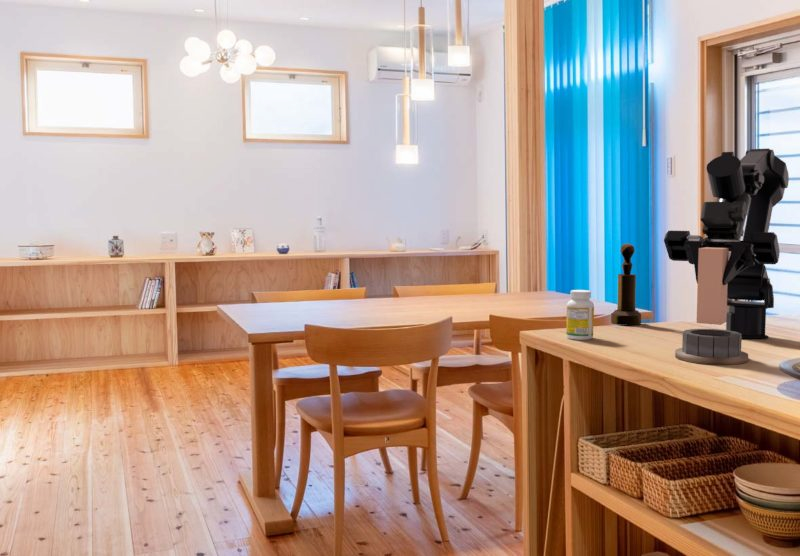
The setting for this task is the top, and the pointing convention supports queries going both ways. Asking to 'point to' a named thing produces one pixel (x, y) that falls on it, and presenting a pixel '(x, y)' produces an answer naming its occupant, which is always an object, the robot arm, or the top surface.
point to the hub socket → (711, 347)
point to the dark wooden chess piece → (626, 292)
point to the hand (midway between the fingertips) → (710, 282)
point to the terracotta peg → (712, 285)
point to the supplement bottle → (580, 315)
